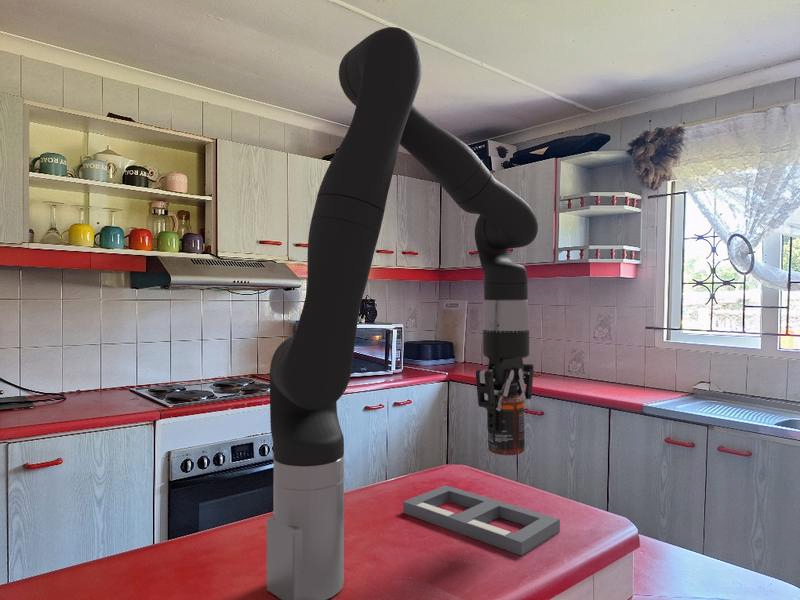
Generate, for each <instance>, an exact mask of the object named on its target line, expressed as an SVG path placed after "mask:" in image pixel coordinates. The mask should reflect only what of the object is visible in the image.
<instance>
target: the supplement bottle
mask: <svg viewBox="0 0 800 600" xmlns="http://www.w3.org/2000/svg"><path fill="white" fill-rule="evenodd" d="M494 390H498V391H500V389H495V388H494ZM517 391H518V383H511V384H510V387H509V391H508V395H507V397H506V398H504V400H503V405H502V409H501V411H502V433H501V434H498V435H497V434H492V433H489V432H488V431H487V446H488V447H487V449H488V450H489V452H491V453H492V454H495V455H500V456H516V455H520V454H522V453H524V452H525V446H526V445H525V444H526V442H525V441H526V438H525V437H526V436H525V433H526V432H525V404H524V400H523V398H522V397H521V396H520V395H519V394H518V392H517ZM496 401H497V397H496V396H495V402H496Z"/></svg>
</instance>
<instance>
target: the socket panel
mask: <svg viewBox="0 0 800 600" xmlns="http://www.w3.org/2000/svg"><path fill="white" fill-rule="evenodd" d="M449 502H450V503H453V504H457V505H459V506H463V507H466V508H467V509H465V510H462V511H461V512H459V513H455V512H453V511H449V510H447V509H444V508H440V507H439V506H441V505H442V506H443V505H444V504H446V503H449ZM402 505H403V506H402V512H403V514H406V515H408V516H411V517H413V518H417V519H418V520H419V519H420V520H422V521H424V522H427V523H431V524H434V525H436V526H439V527H441V528H445V529H447V530H448V531H452V532H455V533H457V534H461V535H462V536H467V537H469V538H471V539H475V540H477V541H480V542H481V543H485V544H488V545H490V546H494V547H497V548H500V549H502V550H504V549H505V551H508V552H510V553H513V554H516V555H519V556H521V555H522V556H524V555H525V554H527V553H528V552H530V551H531V550H533V549H534V548H536V547H538V546H539V545H541V544H542V543H544V542H545V541H547V540H548V539H550V538H551V537H553V536H555V535H556V534H558V533H559V532H561V519H560V518H558V517H555V516H552V515H548V514H546V513H545V514H544V513H541V512H537V511H535V510H531V509H527V508H524V507H522V506H521V507H520V506H517V505H515V504H511V503H507V502H504V501H500V500H497V499H493V498H492V497H491V498H489V497H487V496H484V495H480V494H476V493H473V492H470V491H467V490H463V489H460V488H456V487H453V486H449V485H446V484H445V485H441V486H440V487H436V488H435V489H431V490H429V491H427V492H424V493H421V494H419V495H417V496H415V497H411V498H409V499H406V500H404V501H402ZM497 519H503V520H507V521H509V522H512V523H515V524H519V525H523V526H524V527H523V528H521V529H519V530H518V531H516V532H512V531H510V530H506V529H503V528H500V527H498V526H494V525H492V524H489V523H491V522H493V521H494V520H497ZM523 554H524V555H523Z"/></svg>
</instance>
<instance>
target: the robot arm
mask: <svg viewBox="0 0 800 600" xmlns="http://www.w3.org/2000/svg"><path fill="white" fill-rule="evenodd" d="M422 60H423V59H422V56H421V52H420V48H419V46H418V44H417V42H416V40H415V38H414V37H413V36H412V35H411V34H410V33H409V32H408V31H406V30H405V29H402V28H400V27H397V26H395V27H394V26H389V27H385V28H381V29H378V30H375V31H374V32H372V33H370V34H369V35H367V36H366V37H365V38H364V39H362V40H361V41H360V42H359V43H357V44H356V45H355V46H353V47H352V48H351V49H350V50H349V51H347V53H345V54H344V56H343V58H342V59H341V62H340V63H339V68H338V80H339V84H340V87H341V90H342V91H343V93H344V95H345V96H346V98H347V99H348V100H349V101H350V102H351V103H352V104H353V105H354V106H355V109H354V113H353V115H352V120H351V122H350V125H349V128H348V129H347V132H346V134H345V136H344V138H343V139H342V141H341V143H340V145H339V146H338V148H337V151H335V154H334V156H333V158H332V159H331V161H330V164H329V166H328V167H327V169H326V171H325V174H324V176H323V178H322V181H321V184H320V186H319V188H318V192H317V195H316V200H315V203H314V208H313V210H312V211H313V213H312V216H311V221H310V225H309V231H308V237H307V238H308V240H307V262H306V263H307V264H306V265H307V273H306V274H307V276H306V279H307V282H306V292H305V298H304V302H303V305H302V306H303V307H302V309H301V313H300V316H299V320H298V323H297V326H296V330H295V332H294V335H293V336H290V337H289V338H287V339H285V340H284V341H283V342H281V343H280V344H279V345H278V346H277V348H276V350H275V351H274V352H273V355H272V358H271V361H270V367H269V409H270V410H269V414H270V415H269V420H270V421H269V422H270V432H271V438H272V446H273V453H272V455H273V481H272V482H273V483H272V484H273V490H272V491H273V497H272V498H273V500H272V501H273V507H272V508H273V513H272V514H273V515H272V516H269V517H267V519H266V590H267V592H268V593H271V594H273V595H274V596H276V597H277V598H279V599H280V600H329V599H331V598H333V597H335V596H336V595H337V594H339V593H340V592H341V590H342V589H343V587H344V582H345V581H344V580H345V579H344V576H345V575H344V574H345V573H344V570H345V568H344V565H345V563H344V562H345V559H344V558H345V554H344V553H345V551H344V550H345V549H344V548H345V547H344V546H345V545H344V544H345V540H344V539H345V533H344V532H345V530H344V529H345V521H344V520H345V503H344V502H345V439H344V434H343V431H342V428H341V425H340V421H339V417H338V405H337V404H338V403H337V402H338V400H340V399H341V398H342V397H343V394H344V393H345V392H346V390H347V387H348V386H349V382H350V381H351V376H352V369H353V364H354V354H355V345H356V337H357V329H358V323H359V322H358V321H359V315H360V310H361V305H362V301H363V297H364V294H365V290H366V287H367V284H368V279H369V276H370V272H371V269H372V264H373V260H374V255H375V252H376V248H377V244H378V240H379V237H380V232H381V229H382V225H383V221H384V220H383V219H384V216H385V215H384V214H385V211H386V205H387V200H388V195H389V190H390V187H391V182H392V177H393V175H394V169H395V166H396V161H397V157H398V152H399V148H400V145H401V147H402V148H404V149H405V150H406V151H407V152H408V153H409V154H410V155H411V156H412V157H413V158H414V159H415V160H416V161H418V162H419V163H420V164H421V165H422V167H424V168H425V169H426V170H427V172H429V173H430V175H432V177H433V178H434V179H435V180H436V181H437V182H438V184H439V185H440V186H441V187H442V189H443V190H444V191H445V192H446V193H447V194H448V195H449V197H451V199H452V200H453V201H454V202H455V203H456V205H457V206H458V207H459V208H460V209H461V210H463V212H466V213H469V214H475V215H479V216H478V218H477V219H476V222H475V225H474V240H475V246H476V249H477V255H478V258H479V262H480V266H481V268H482V273H483V276H484V278H483V279H484V280H483V283H484V284H483V291H484V292H483V294H484V295H483V297H484V298H483V299H484V301H483V309H482V355H483V356H484V357H486V358H488V364H487V367H486V369H484V370H481V369H476V372H475V380H476V393H477V405H478V407H479V408H483V409H485V410H486V411H487V420H486V421H487V423H486V424H487V433H488V432H489V433H492V434H497V435H498V434H501V433H502V411H501V409H502V405H503V400H504V398H506V397H507V395H508V391H509V387H510V384H511V383H518V391H517V392H518V394H519V395H520V396H521V397H522V398H523V400H524V405H525V404H526V403H527V401H528V400H531V399H532V394H533V381H534V380H533V379H534V364H532V363H525V362H524V361H523V359H525V358H527V357H529V356H530V309H529V302H528V298H529V297H528V288H529V287H528V279H529V278H528V270H527V268H526V267H525V266H524V265H522V264H519V263H515V262H513V261H512V259H511V256H510V251H509V250H510V249H519V248H523V247H527V246H528V245H531V244H532V243H533V242H534V241H535V239H536V237H537V234H538V232H539V231H538V230H539V223H538V219H537V218H538V217H537V215H536V214H535V212H534V210H533V208H532V207H531V206H530V205H529V204H528V202H526V200H524V199H523V198H522V197H521V196H519V195H518V194H516V193H515V192H514V191H512V190H511V189H510V188H509V187H508V186H506V185H505V184H504V183H502V182H500V181H499V180H497V179H495V177H494V176H493V174H492V172H491V171H490V170H489V169H488V168H487V167H486V165H485V164H484V162H483V161H482V160H481V159H480V158H479V156H478V155H477V153H475V152H474V150H473V149H472V148H471V147H470V146H468V145H467V144H466V143H465V142H464V141H462V140H461V139H460V138H458V137H456V136H455V135H453V134H452V133H450V132H449V131H448V130H445V129H444V128H443V127H440V126H439V125H437V124H436V123H435V122H433V121H431V119H429V118H428V117H426V116H425V115H424V114H423V113H422V112H421V111H420V110H419V109H417V107H416V106H415V105H414V102H415V100H416V99H415V98H416V96H417V94H418V90H419V87H420V83H421V79H422V72H423V61H422ZM494 388H495V389H500V391H498V390H494ZM485 394H486V396H485ZM495 396H496V397H497V401H496V402H495ZM485 397H486V399H485Z"/></svg>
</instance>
